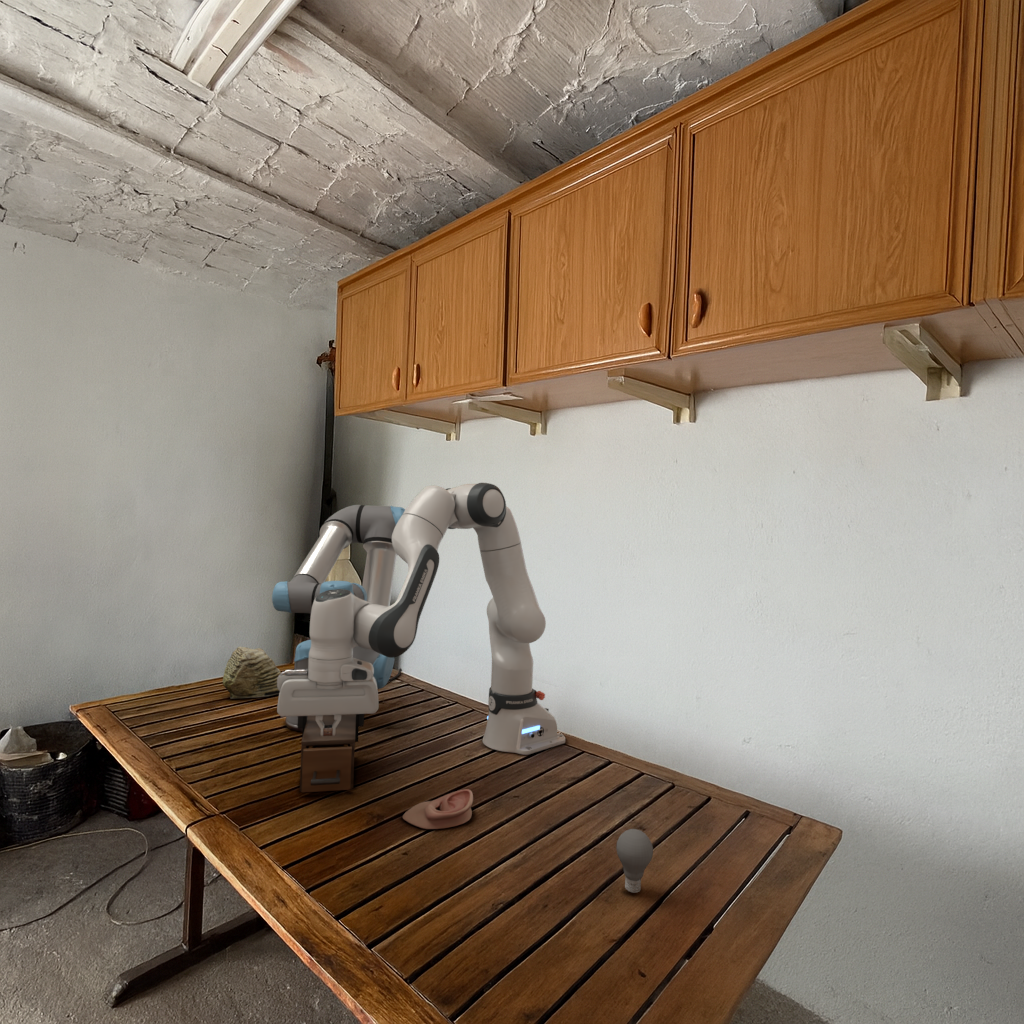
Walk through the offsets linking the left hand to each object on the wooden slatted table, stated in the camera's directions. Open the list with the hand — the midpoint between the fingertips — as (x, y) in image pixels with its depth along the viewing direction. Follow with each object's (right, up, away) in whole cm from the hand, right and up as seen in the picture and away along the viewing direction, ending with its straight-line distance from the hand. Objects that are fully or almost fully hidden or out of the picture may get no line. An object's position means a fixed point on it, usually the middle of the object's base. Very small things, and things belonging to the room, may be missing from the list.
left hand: (330, 740), depth 148 cm
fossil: (-38, -4, +50) cm, 63 cm away
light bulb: (+63, -10, -43) cm, 76 cm away
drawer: (+2, -5, -9) cm, 11 cm away
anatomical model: (+28, -8, -21) cm, 35 cm away
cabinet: (+1, -6, -4) cm, 7 cm away
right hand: (+4, +7, -17) cm, 19 cm away
